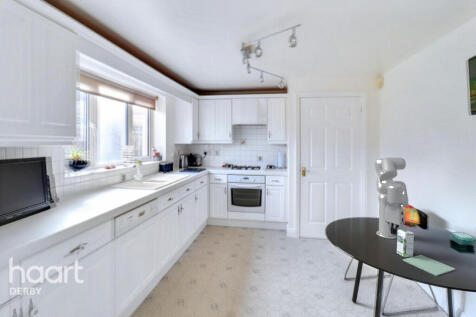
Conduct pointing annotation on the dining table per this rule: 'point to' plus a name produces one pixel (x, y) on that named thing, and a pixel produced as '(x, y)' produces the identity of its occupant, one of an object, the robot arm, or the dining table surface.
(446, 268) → the mat
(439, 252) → the dining table surface
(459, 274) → the dining table surface
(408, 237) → the syrup box
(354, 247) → the dining table surface
